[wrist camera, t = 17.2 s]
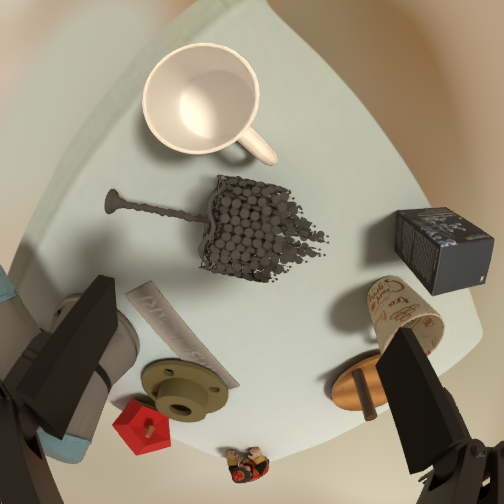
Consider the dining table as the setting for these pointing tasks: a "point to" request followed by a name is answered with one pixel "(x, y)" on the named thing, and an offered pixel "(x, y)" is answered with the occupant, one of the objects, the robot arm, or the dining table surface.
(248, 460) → the figurine
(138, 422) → the red faceted polyhedron
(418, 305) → the mug
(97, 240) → the dining table surface
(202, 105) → the cup
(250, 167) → the dining table surface
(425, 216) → the box
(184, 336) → the nameplate
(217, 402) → the flange
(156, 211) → the massage brush
